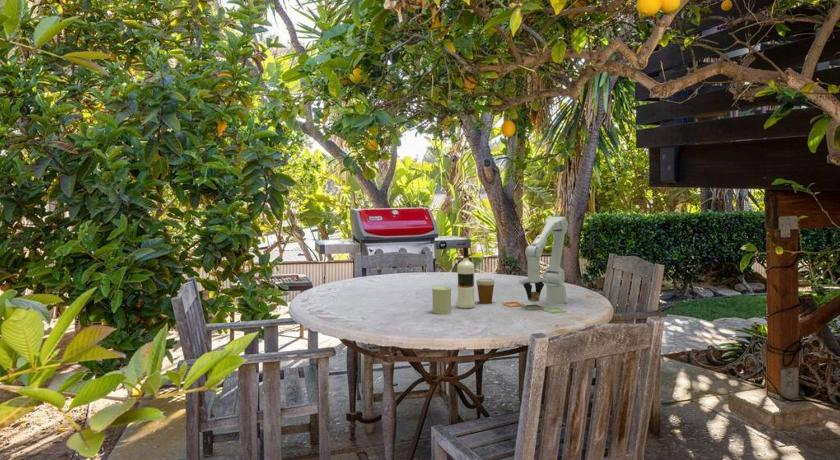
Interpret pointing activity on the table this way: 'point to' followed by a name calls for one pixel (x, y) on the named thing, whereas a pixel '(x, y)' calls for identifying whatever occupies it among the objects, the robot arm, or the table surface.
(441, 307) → the can
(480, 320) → the table surface
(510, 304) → the terracotta dish
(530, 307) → the slate dish
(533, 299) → the letter cube
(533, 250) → the robot arm
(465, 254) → the vodka
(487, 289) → the disposable coffee cup
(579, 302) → the table surface
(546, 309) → the sage dish
